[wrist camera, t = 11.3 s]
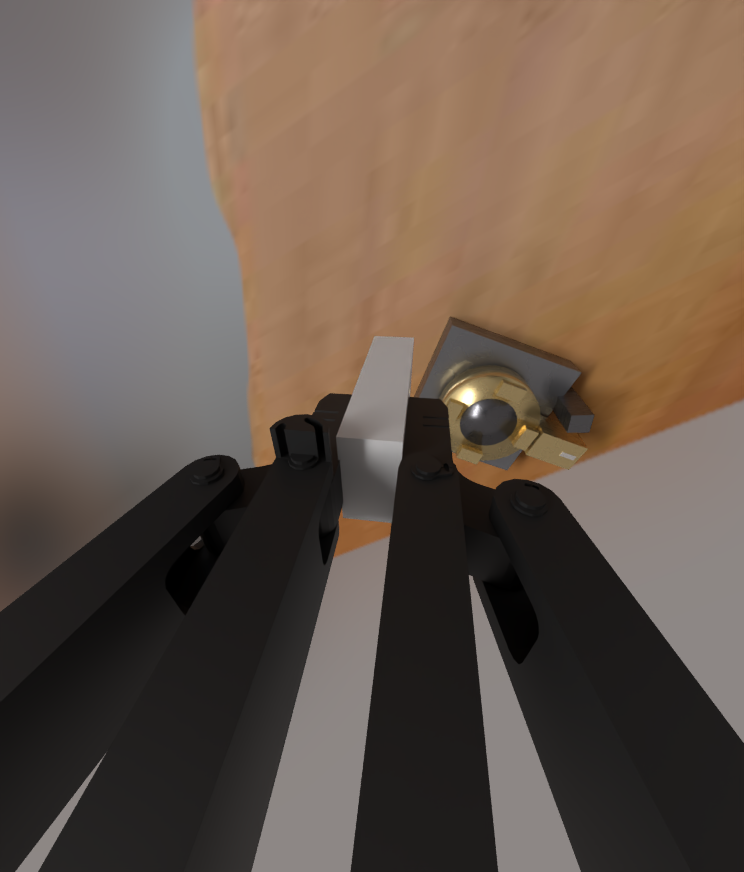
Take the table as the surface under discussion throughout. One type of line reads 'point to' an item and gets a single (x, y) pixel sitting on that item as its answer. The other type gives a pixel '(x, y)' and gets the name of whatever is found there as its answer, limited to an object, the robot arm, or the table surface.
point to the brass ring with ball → (503, 420)
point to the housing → (538, 368)
